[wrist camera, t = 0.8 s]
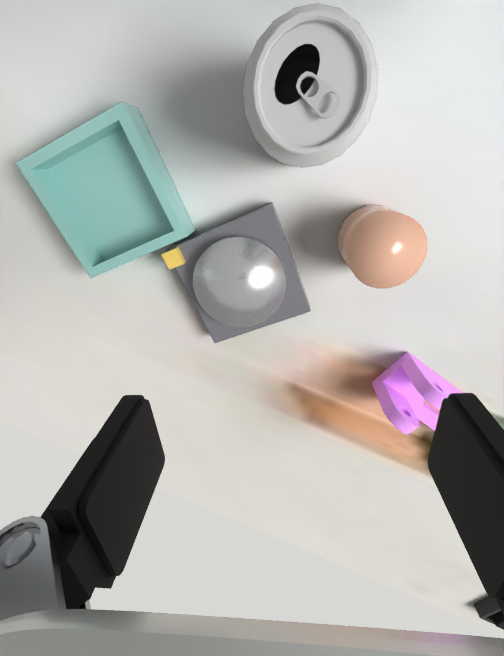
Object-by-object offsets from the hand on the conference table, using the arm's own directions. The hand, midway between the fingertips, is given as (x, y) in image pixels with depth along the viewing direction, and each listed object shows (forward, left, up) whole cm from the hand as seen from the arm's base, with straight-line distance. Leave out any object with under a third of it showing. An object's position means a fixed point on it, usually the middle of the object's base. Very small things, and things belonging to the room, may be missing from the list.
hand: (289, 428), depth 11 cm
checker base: (+5, +1, -25) cm, 25 cm away
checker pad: (+5, +1, -23) cm, 23 cm away
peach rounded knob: (-8, +2, -25) cm, 26 cm away
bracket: (-10, +23, -25) cm, 36 cm away
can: (-5, -10, -25) cm, 27 cm away
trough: (+13, -10, -25) cm, 30 cm away
